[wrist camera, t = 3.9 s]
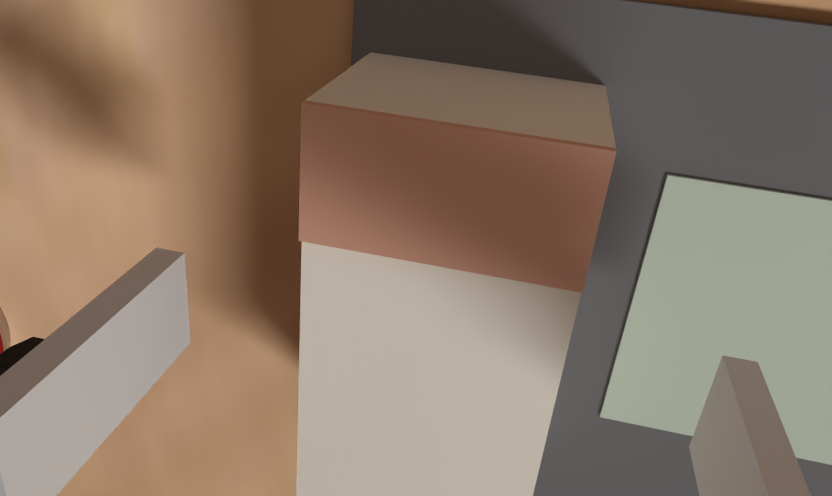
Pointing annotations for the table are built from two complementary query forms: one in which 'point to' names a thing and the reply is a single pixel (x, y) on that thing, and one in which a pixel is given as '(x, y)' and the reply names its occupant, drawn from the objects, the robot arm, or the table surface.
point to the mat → (672, 219)
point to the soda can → (4, 334)
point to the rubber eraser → (441, 272)
